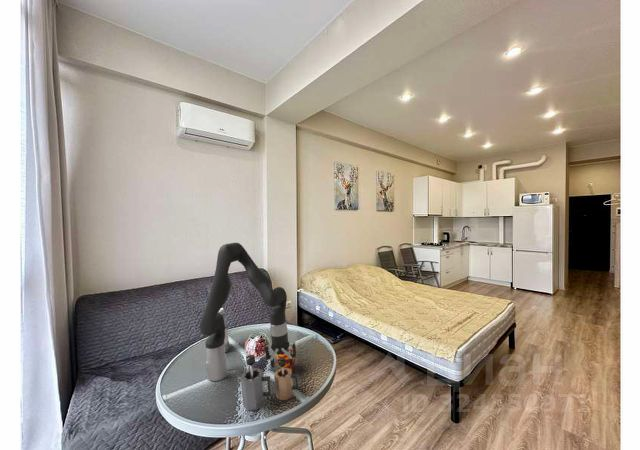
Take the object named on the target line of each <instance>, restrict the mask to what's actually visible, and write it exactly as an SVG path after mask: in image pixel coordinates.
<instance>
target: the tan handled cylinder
mask: <svg viewBox="0 0 640 450" xmlns="http://www.w3.org/2000/svg"><path fill="white" fill-rule="evenodd" d="M273 375H274V376H273V377H274V389H275V397H276V398H277V399H278V400H280V401H287V400H288V399H290V398H292V397H293V395H294V390H295V391H297V390H298V391H299V389H300V388H299V387H300V385H299V383H300V382H299V374H298V373H293V370H292V371H291V370H290V369H288V368H284V376H282V368H279V369H277V370H275V372H274V374H273ZM293 379H295V385H294V383H293Z"/></svg>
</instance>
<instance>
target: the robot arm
mask: <svg viewBox="0 0 640 450" xmlns="http://www.w3.org/2000/svg"><path fill="white" fill-rule="evenodd" d="M216 258H217V260H216V264H215V265H216V266H215V270H214V275H213V281H212V284H211V286H210V291H209V296H208V299H207V301H206V306H205V309H204V312H203V314H202V317H201V319H200V323H199V330H200V333H201V335H202V336H205V337H208V336H209V337H208V338H207V339H206V340H205V351H206V362H205V366H206V367H205V368H206V375H207V376H206V378H207V380H208V379H210V380H209V381H211V380H212V381H211V382H218V381H221V380H223V379H225V378H226V377H227V376H228V363H227V355H226V354H227V352H226V353H225V343H224V339H225V323H224V318H223V316H222V315H221V314H220V313H218V312H219V310H220V309H221V308H223V306H224V305H225V303H226V301H227V300H228V298H229V295H230V292H231V288H232V282H231V279H230V276H229V270H230V266H231V264H232V263H235V262H237V263H239V264H241V265H242V266H243V269H245V272H246V276H247V279H248V281H249V282H250V283H251V284H252V286H254V287H255V288H256V289H257V291H258V293H259V294H260V296H261V297H262V298H261V299H262V300H263V301H264V303H265V305H267V306H268V307H272V309H271V310H270V312H269V321H270V322H269V323H270V328H269V329H270V339H271V344H270V345H269V344H268V343H267V344H266V345H265V348H264V350H265V351H264V352H265V359H266V360H269V362H270V367H271V368H272V369H275V366H276V365H275V364H276V363H275V357H276V356H277V355H279V354H284V353H285V354H286V355H287V356H288V357H289V362H290V367H291V368H292V367H293V366H294V365H293V357H295V358H297V345H296V341H293V342H291V343H290V342H289V337H288V336H289V335H288V324H287V319H286V318H287V317H286V310H287V309H286V308H287V301H288V298H287V297H288V295H287V292H286V290H285V289H284V288H283V287H280V286H278V287H275V288H274V289H271V285H272V281H271V279H270V278H269V277H268V276H267V275H266V274H265V273H264V272H263V271H262V270H261V269H260V267H258V266H257V264H256V262H254V260H253V259H252V257H251V255H250V254H249V253H248V252H247V250H246V249H245V247H244V246H243V245H242V244H240V242H231V243H225V244H222V245H221V246H220V247H219V250H218V252H217V257H216ZM288 348H289V349H292V350H293V354H292V353H291V352H290V350H289V349H288ZM271 350H272V351H273V352H272V354H271V355H270V351H271ZM292 365H293V366H292ZM226 375H227V376H226ZM224 377H225V378H224Z"/></svg>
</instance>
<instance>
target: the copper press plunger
mask: <svg viewBox="0 0 640 450" xmlns="http://www.w3.org/2000/svg"><path fill="white" fill-rule="evenodd" d="M285 365H286V360H285V358H284V357H282V358H279V359H278V363H277V367H278V366H279V367H278V368H280V367H281V368H282V376H284V368H283V366H285ZM281 368H280V369H281Z"/></svg>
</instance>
